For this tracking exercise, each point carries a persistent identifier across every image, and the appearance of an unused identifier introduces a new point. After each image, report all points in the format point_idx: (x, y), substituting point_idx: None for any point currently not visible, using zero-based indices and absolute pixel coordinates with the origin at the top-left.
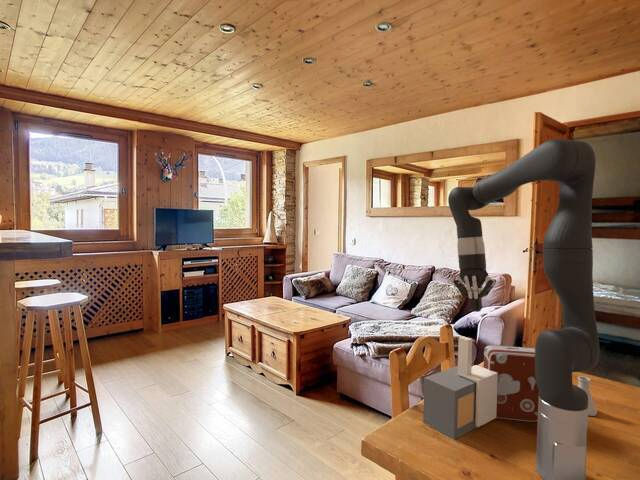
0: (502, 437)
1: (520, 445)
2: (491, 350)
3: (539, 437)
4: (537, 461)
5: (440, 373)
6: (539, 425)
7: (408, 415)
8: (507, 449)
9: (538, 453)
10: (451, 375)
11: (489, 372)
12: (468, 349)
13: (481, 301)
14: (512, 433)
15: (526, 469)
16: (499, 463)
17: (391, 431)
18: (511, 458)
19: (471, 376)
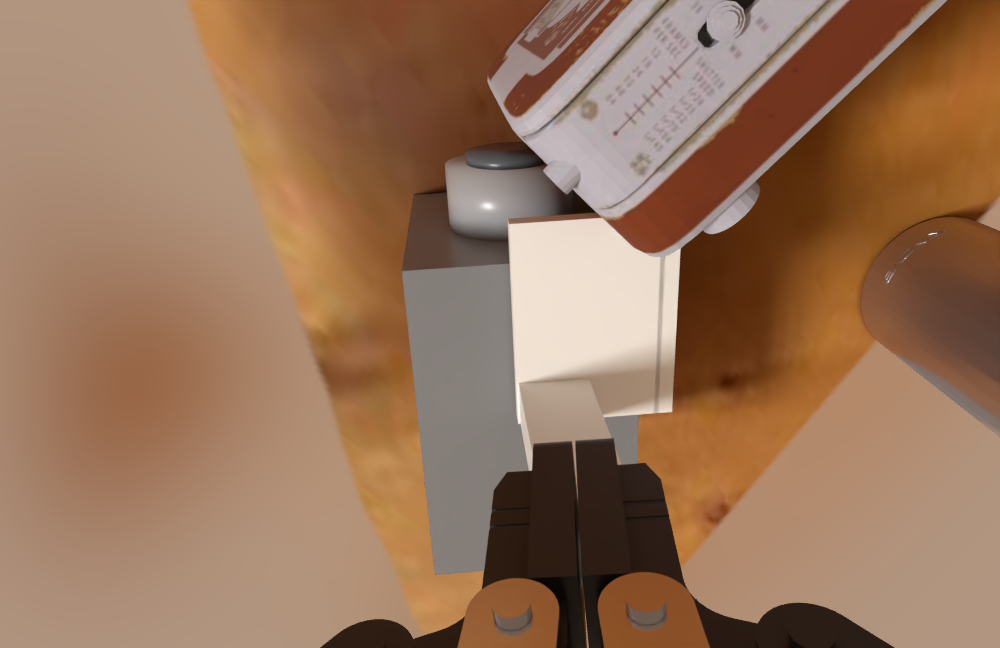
0: (696, 247)
1: (769, 235)
2: (642, 215)
3: (960, 406)
4: (893, 352)
5: (441, 470)
6: (992, 431)
7: (362, 446)
8: (747, 304)
9: (918, 373)
10: (496, 438)
11: (646, 260)
12: None
13: (676, 553)
14: None
15: (840, 349)
16: (765, 397)
17: (423, 563)
18: (781, 339)
19: (611, 406)
